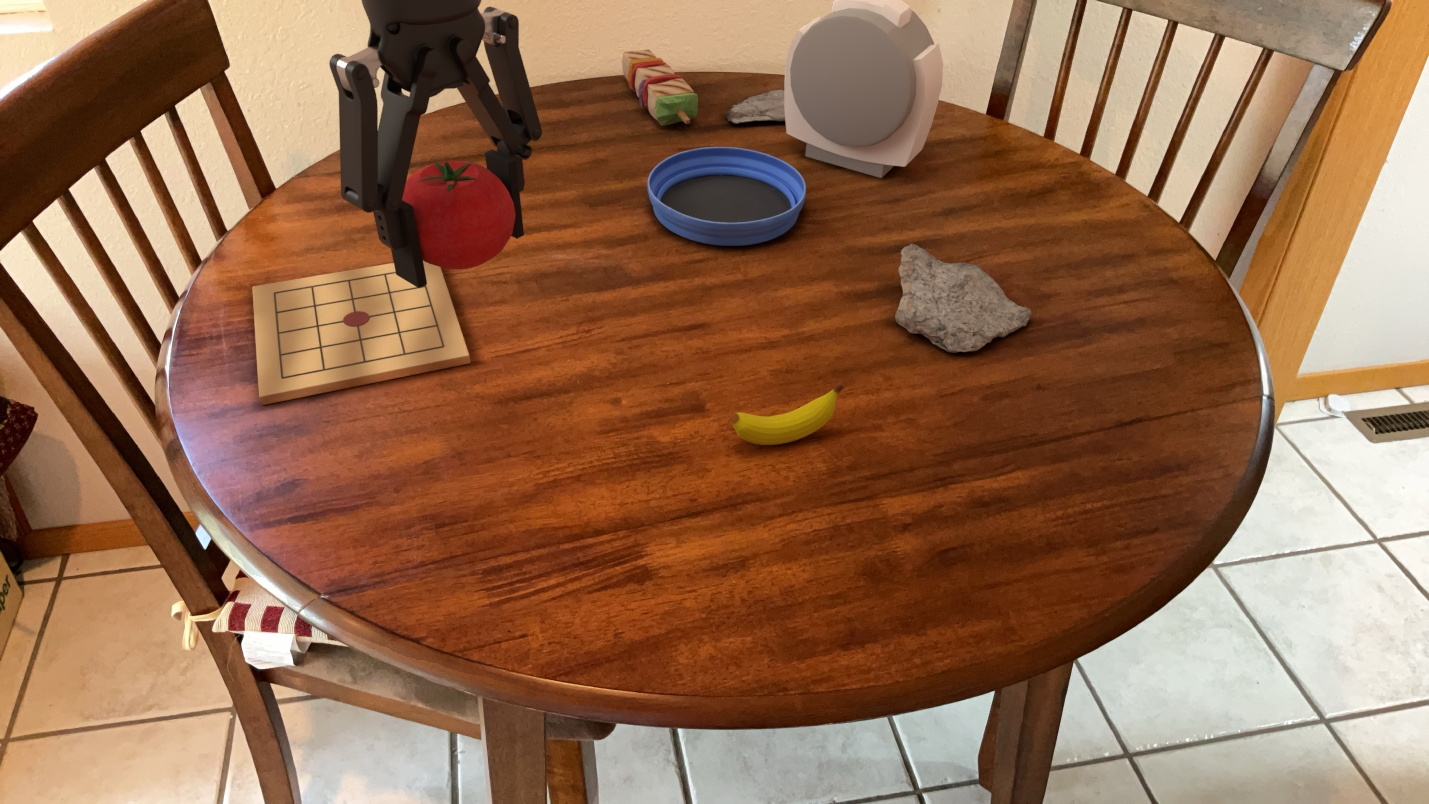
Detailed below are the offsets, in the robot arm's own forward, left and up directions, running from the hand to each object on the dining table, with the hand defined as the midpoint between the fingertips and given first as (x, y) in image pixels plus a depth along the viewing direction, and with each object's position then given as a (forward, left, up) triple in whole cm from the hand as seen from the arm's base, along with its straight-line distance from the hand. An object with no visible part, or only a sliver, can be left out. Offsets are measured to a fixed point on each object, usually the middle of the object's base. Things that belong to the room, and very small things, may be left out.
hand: (462, 254), depth 75 cm
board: (-9, +15, -15) cm, 23 cm away
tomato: (0, 0, 0) cm, 0 cm away
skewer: (+35, +54, -16) cm, 66 cm away
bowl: (+33, +25, -16) cm, 44 cm away
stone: (+53, +48, -15) cm, 73 cm away
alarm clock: (+53, +32, -16) cm, 64 cm away
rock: (+47, -1, -16) cm, 49 cm away
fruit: (+23, -13, -16) cm, 30 cm away
